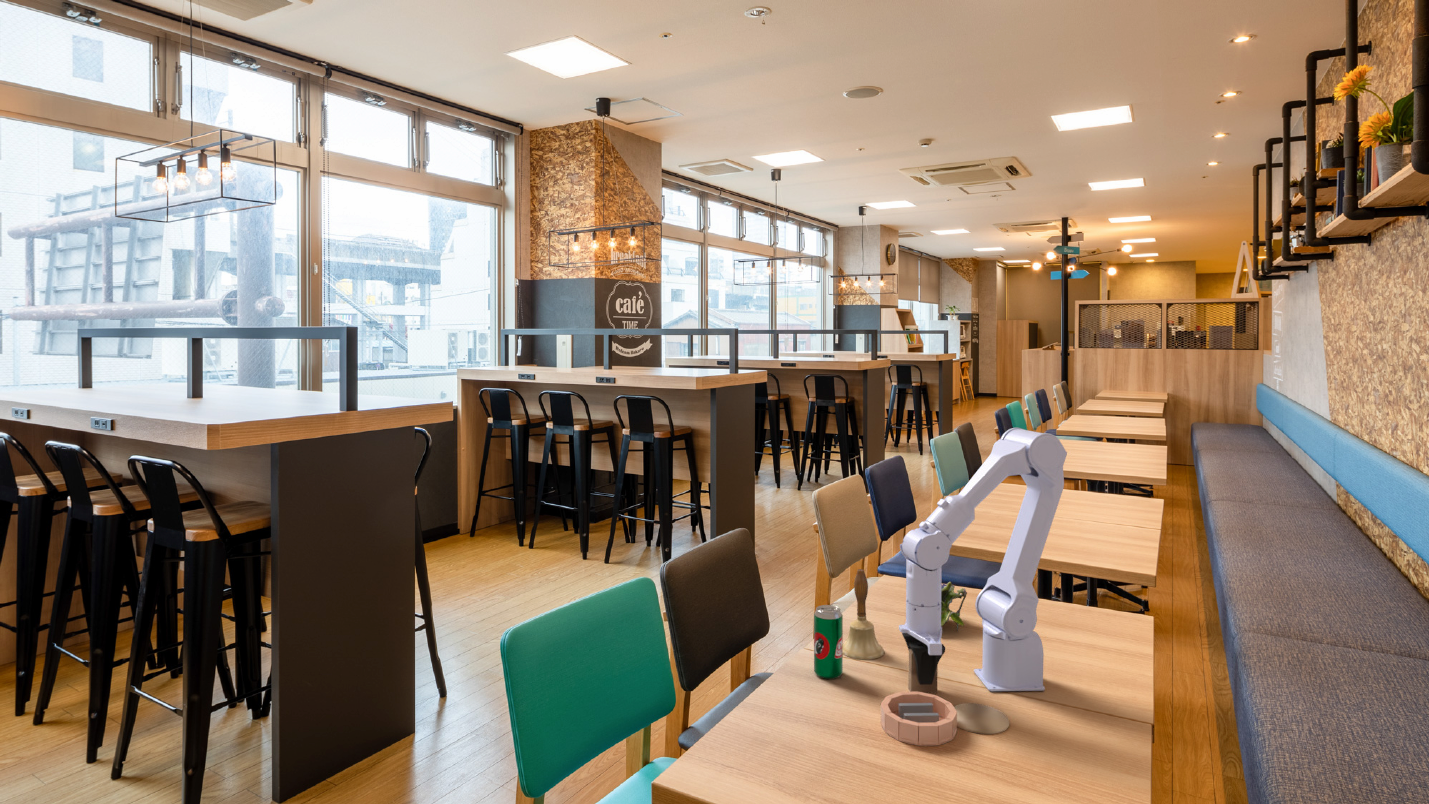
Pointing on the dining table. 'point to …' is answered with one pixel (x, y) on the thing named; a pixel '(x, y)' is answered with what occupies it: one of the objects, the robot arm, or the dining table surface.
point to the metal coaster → (981, 718)
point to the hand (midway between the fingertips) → (922, 679)
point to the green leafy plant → (947, 598)
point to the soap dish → (918, 718)
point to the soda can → (828, 642)
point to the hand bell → (862, 627)
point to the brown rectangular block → (913, 678)
